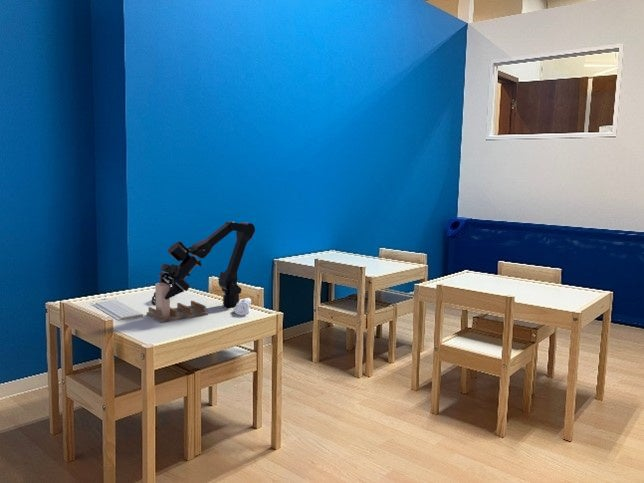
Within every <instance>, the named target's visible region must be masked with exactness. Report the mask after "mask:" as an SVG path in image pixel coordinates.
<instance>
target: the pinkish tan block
mask: <svg viewBox="0 0 644 483" xmlns="http://www.w3.org/2000/svg"><path fill="white" fill-rule="evenodd" d="M169 285H170V284H169ZM169 285H168V284H165V283H160V282H157V283H155V287H154V288H155V292H156V305H155V309H156V310H157V311H159V312H161V313H163V317H166V316H170V307H171V300H170V299H171V298H169V299H167V300H166V299H165V296H166V295H167V293H168V292H169V290H170V288H169Z"/></svg>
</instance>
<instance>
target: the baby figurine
mask: <svg viewBox="0 0 644 483" xmlns="http://www.w3.org/2000/svg"><path fill="white" fill-rule="evenodd" d="M251 304H252V299H251V298H249V297H245V298H239V301H238V303H237V304H236V306H235V307H233V309H232V311H233V312H234V313H235V314H236V315H238V316H247V315H248V314H250V312H251V310H250V308H251Z"/></svg>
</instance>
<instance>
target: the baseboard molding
mask: <svg viewBox="0 0 644 483" xmlns="http://www.w3.org/2000/svg"><path fill="white" fill-rule="evenodd" d="M99 301H100V302H98V301H97V302H95V303H94V304H93V302H91V303H89V305H90V306H93V305H94V307H95V308H97V309H98V310H100V311H102V312H103V311H104V313H105V314H107V315H108V314H109V316H110V317H112V318H113V317H114V320H116V321H123V320H129V319H135V318H142V317H144V314H143V313H141V312H140V311H138V310H136V309H134V308H132V307H130V306H128V305H127V304H125V303H123V302H121V301H119V300H117V299H116V297H115V298H114V299H111V300H109V298H108V299H107V298H103V299H101V300H99Z"/></svg>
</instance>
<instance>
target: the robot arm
mask: <svg viewBox="0 0 644 483" xmlns="http://www.w3.org/2000/svg"><path fill="white" fill-rule="evenodd" d="M233 231H235V233H236V235H235V236H236V242H235V244H234V247H233V250H232V253H231V256H230V259H229V262H228V265H227V267H226V270H225V271H220V274H219V278H218V279H217V281H218V286H219V287H220V289H221V291H222V292H223V295H222V305H223V306H224V307H225V308H234V307H235V306H236V304H237V303H238V301H239V300H240V294H241V293H242V290H243V289H242V287H240V285H238V280H239V278H238V270H239V267H240V265H241V262H242V259H243V256H244V253H245V250H246V246H247V244H248V243H249V241H250V240H251V239H252V238H253V236H254V234H255V232H256V227H255V225H254V224H253V223H251V222H245V221H241V222H239V223H238V222H235V221H230V220H228V221H225V223H224V224H223V225H221V226H219V227H218V229H216V230H215V231H214V232H213V233H211V234H210V235H209V236H207V237H206V238H204V239H202V240H199V241H197V242H196V243H194V244H192V245H191V246H188V247H186V246H185V245H184V243H183V242H182V241H180V240H178V241H177V242H175V243H174V244H172V245H171V246H169V247H168V250H167V253H168V254H169V255H170V256H171V257H172V258H174V259H175V261H176V262H180V263H179V264H173V263H170V264H167V263H164V262H162V263H161V266H160V269H159V270H160V271H161V272H160V273H159V274H158V279H159V283H165V284H168V285H169V287H171V289H170V290H169V292H168V293H167V295H166V296H165V299H166V300H167V299H169V298H170V299H171V298H174V297H175V296H177V295H179V294H182V293H184V292H187V291H188V290H189V289H190V284H189V283H188V282H187V281H186V278H187V277H190V276H191V274H190V273H191V271H192V270H194V268H195V267H196V266H197V267H202V260H201V259H204V258H207V256H208V255H209V254H210V253H211V251H212V249H213V248H214V247H215V246H216V245H217V244H218V243H220V241H221V240H223V239H224V238H226V237H227V236H228V235H229V234H230V233H232V232H233ZM197 258H199V259H197ZM154 293H155V292H154ZM155 294H156V293H155Z"/></svg>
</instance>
